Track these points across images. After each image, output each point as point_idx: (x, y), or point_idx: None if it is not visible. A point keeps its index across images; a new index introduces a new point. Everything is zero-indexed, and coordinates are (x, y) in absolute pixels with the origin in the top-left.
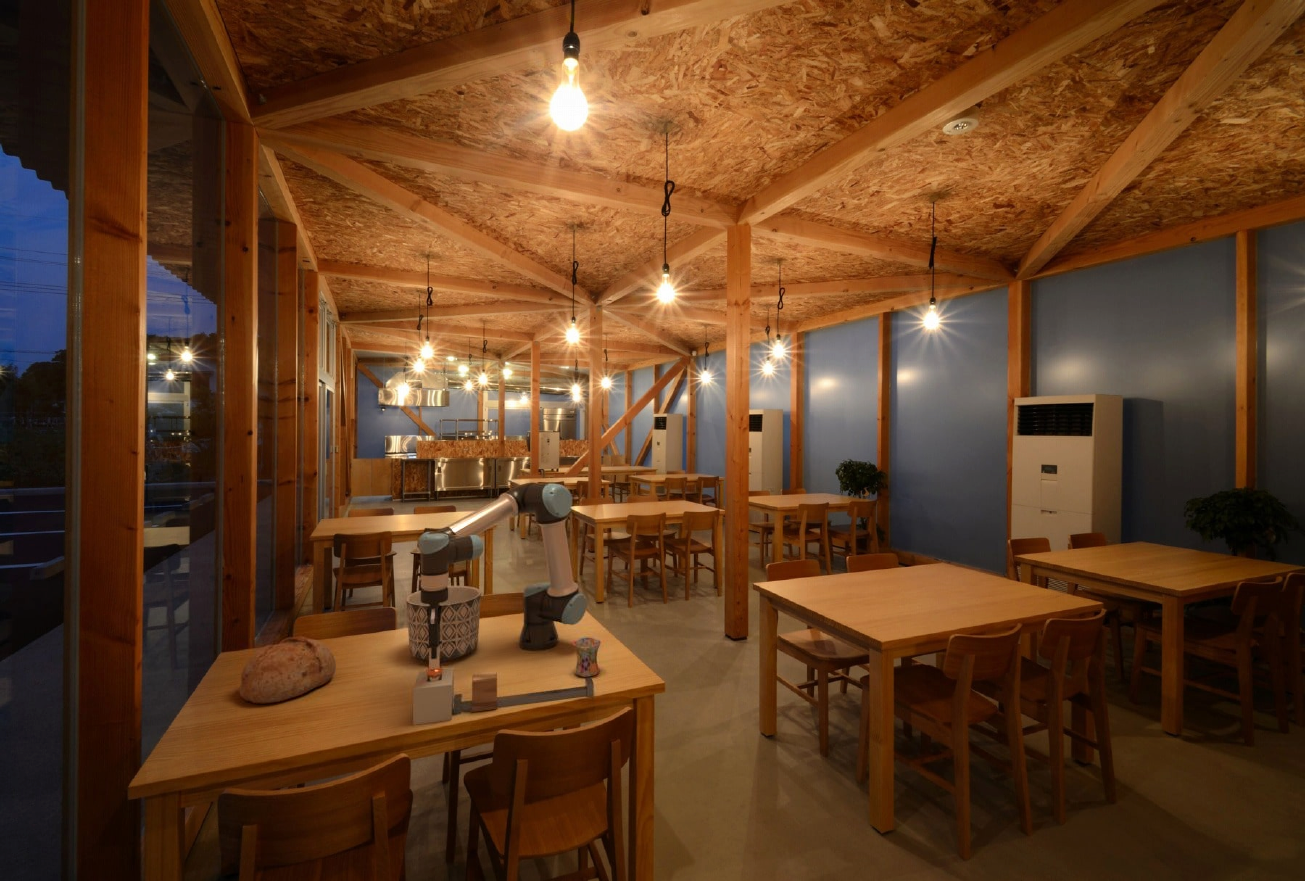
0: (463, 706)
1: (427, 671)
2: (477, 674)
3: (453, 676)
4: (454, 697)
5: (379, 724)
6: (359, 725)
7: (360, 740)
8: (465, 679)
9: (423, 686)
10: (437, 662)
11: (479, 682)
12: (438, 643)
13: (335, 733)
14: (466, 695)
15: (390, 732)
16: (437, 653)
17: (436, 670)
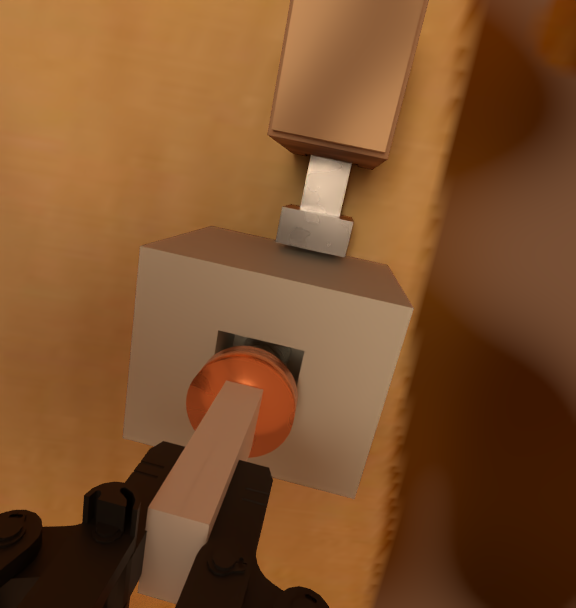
0: (341, 206)
1: (260, 454)
2: (295, 99)
3: (203, 252)
4: (308, 248)
5: (285, 487)
6: (261, 534)
7: (368, 543)
8: (8, 139)
9: (346, 451)
10: (251, 427)
11: (400, 105)
12: (203, 571)
13: (282, 589)
14: (180, 163)
15: (364, 467)
16: (230, 480)
17: (273, 404)
